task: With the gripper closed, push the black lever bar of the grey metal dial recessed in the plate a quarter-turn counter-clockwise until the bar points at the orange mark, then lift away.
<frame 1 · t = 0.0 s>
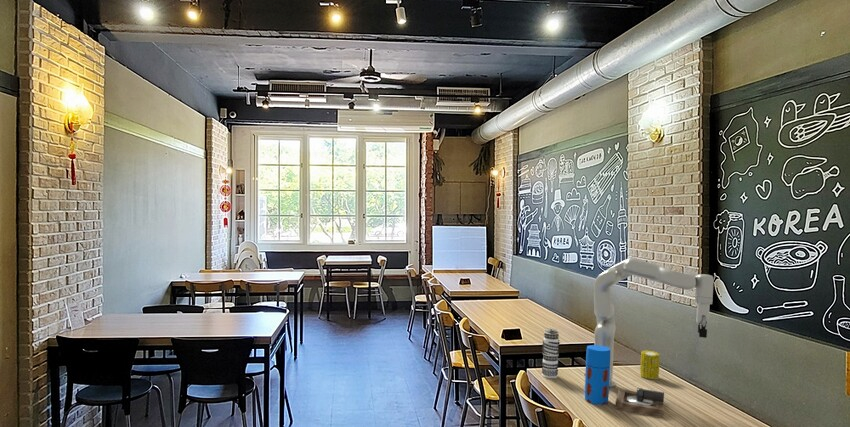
hand: (702, 335, 262), 31 cm above the table, tool pointing down, fingers open, 9 cm apart
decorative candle: (549, 376, 291), on the table
food: (649, 377, 294), on the table
thermos: (596, 401, 255), on the table
dial: (645, 396, 250), point 5 cm above the table, hinge at 0.0°
plate: (639, 405, 251), on the table
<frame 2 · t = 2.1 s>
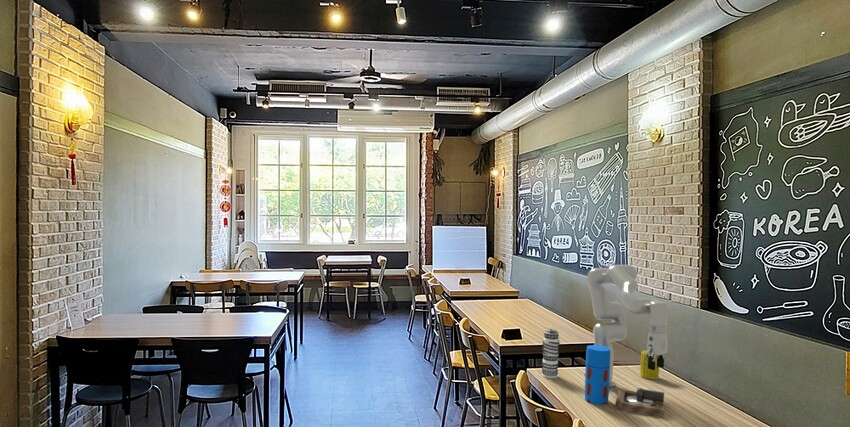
hand: (655, 367, 245), 20 cm above the table, tool pointing down, fingers open, 6 cm apart
nothing on the table moved.
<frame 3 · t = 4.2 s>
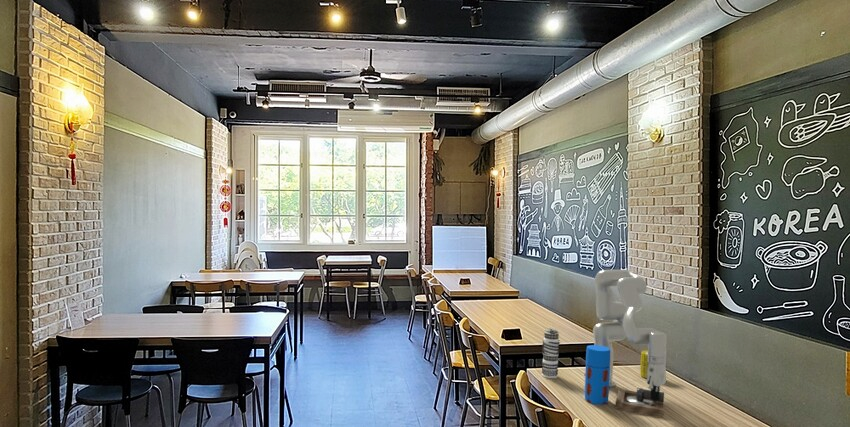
hand: (654, 399, 245), 5 cm above the table, tool pointing down, fingers closed
dial: (645, 396, 250), point 5 cm above the table, hinge at 0.6°, touching gripper
everything else where it was.
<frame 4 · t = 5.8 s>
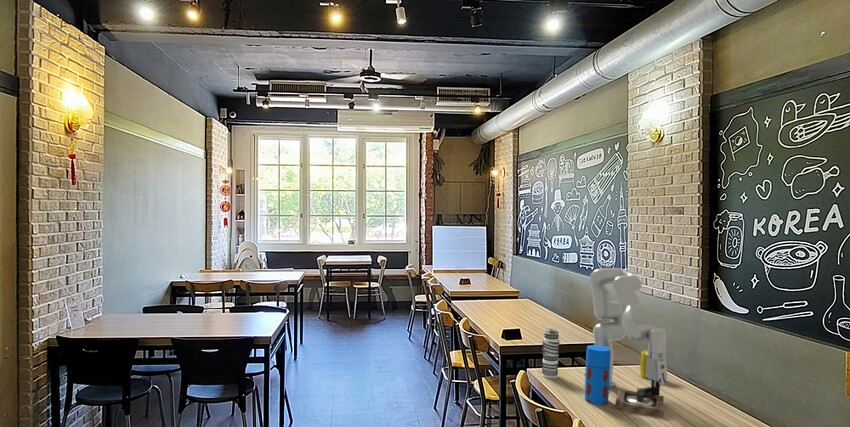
hand: (655, 394, 251), 5 cm above the table, tool pointing down, fingers closed
dial: (643, 395, 251), point 5 cm above the table, hinge at 51.7°, touching gripper
everything else where it was.
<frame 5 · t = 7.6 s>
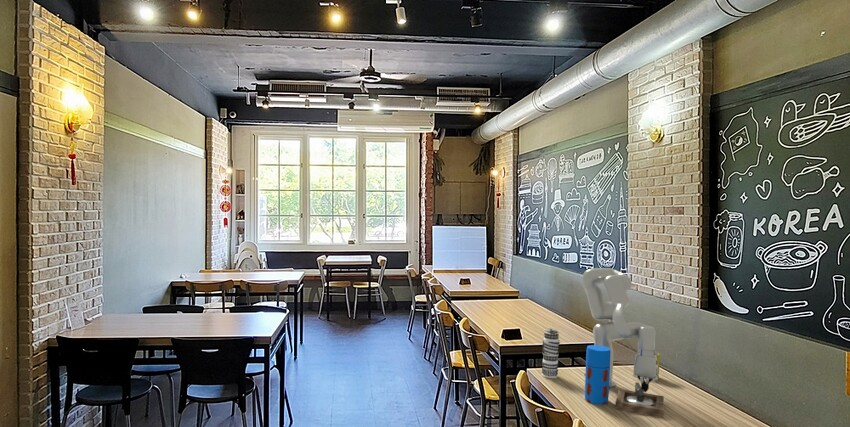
hand: (644, 390, 256), 5 cm above the table, tool pointing down, fingers closed
dial: (639, 394, 253), point 5 cm above the table, hinge at 101.1°, touching gripper
everything else where it was.
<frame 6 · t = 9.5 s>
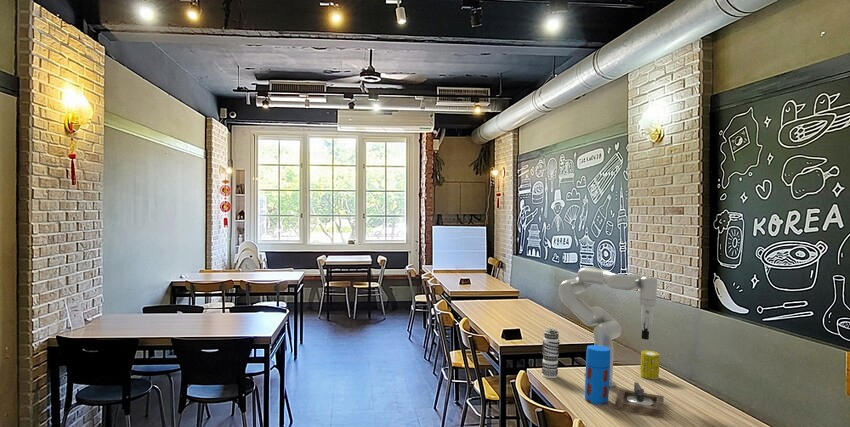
hand: (645, 338, 266), 28 cm above the table, tool pointing down, fingers closed
dial: (639, 394, 253), point 5 cm above the table, hinge at 103.5°
everything else where it was.
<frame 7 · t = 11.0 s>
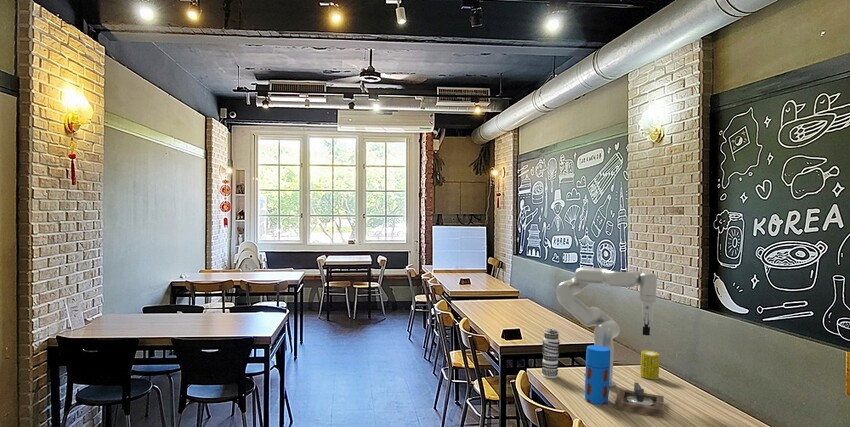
hand: (646, 334, 268), 29 cm above the table, tool pointing down, fingers closed
nothing on the table moved.
at the end: dial at +104° (first picture: +0°) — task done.
